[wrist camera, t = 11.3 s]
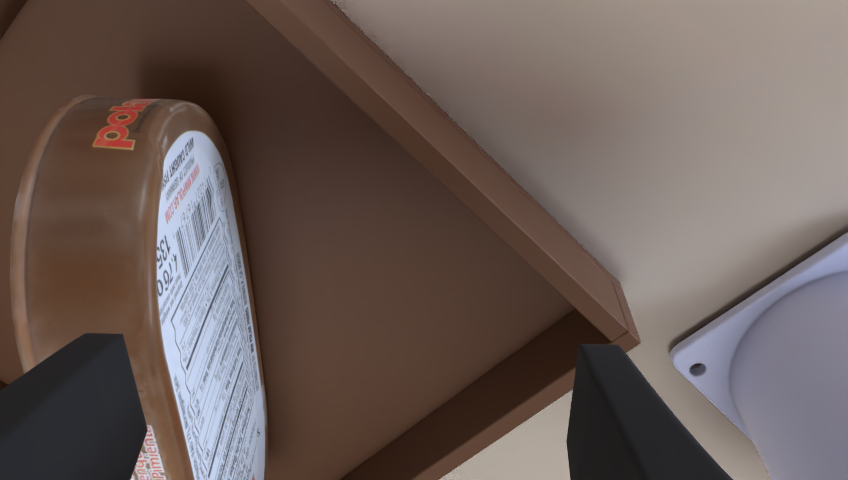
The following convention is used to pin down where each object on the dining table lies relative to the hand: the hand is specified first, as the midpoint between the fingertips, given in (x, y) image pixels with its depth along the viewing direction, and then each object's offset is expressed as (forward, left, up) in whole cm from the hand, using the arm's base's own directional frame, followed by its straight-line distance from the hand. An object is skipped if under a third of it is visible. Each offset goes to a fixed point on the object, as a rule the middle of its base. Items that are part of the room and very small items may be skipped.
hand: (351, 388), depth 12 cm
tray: (+1, +8, -10) cm, 13 cm away
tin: (+1, +7, -10) cm, 13 cm away
